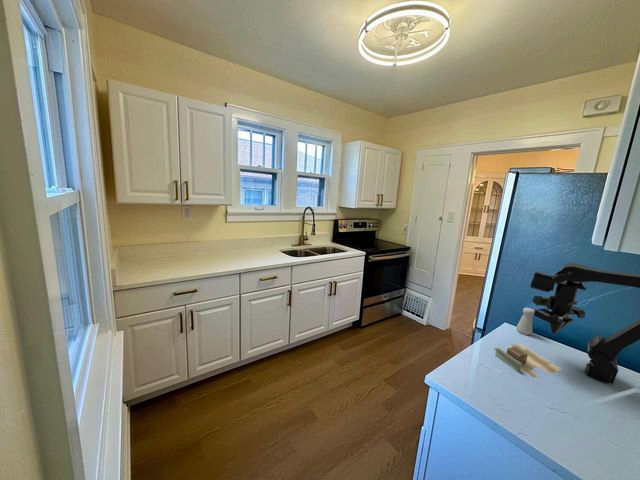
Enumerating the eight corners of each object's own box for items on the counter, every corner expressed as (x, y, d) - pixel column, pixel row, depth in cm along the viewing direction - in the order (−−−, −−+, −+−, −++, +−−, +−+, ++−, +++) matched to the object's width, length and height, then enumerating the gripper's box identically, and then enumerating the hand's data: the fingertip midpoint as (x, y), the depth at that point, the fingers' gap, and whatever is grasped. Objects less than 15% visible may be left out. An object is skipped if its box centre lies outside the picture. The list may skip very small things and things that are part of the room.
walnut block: (513, 356, 103) (516, 346, 102) (525, 364, 98) (528, 354, 97) (505, 358, 101) (507, 348, 100) (516, 366, 97) (519, 355, 96)
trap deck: (519, 346, 111) (521, 337, 110) (562, 372, 97) (565, 363, 96) (486, 352, 106) (488, 343, 105) (526, 381, 92) (529, 371, 91)
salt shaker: (518, 336, 119) (524, 310, 115) (513, 329, 124) (519, 305, 121) (533, 339, 117) (540, 313, 114) (527, 332, 122) (534, 307, 119)
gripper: (557, 285, 107) (548, 319, 111) (524, 289, 102) (515, 324, 106) (591, 297, 97) (579, 334, 100) (556, 302, 92) (545, 341, 95)
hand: (553, 333), depth 101 cm, fingers closed
